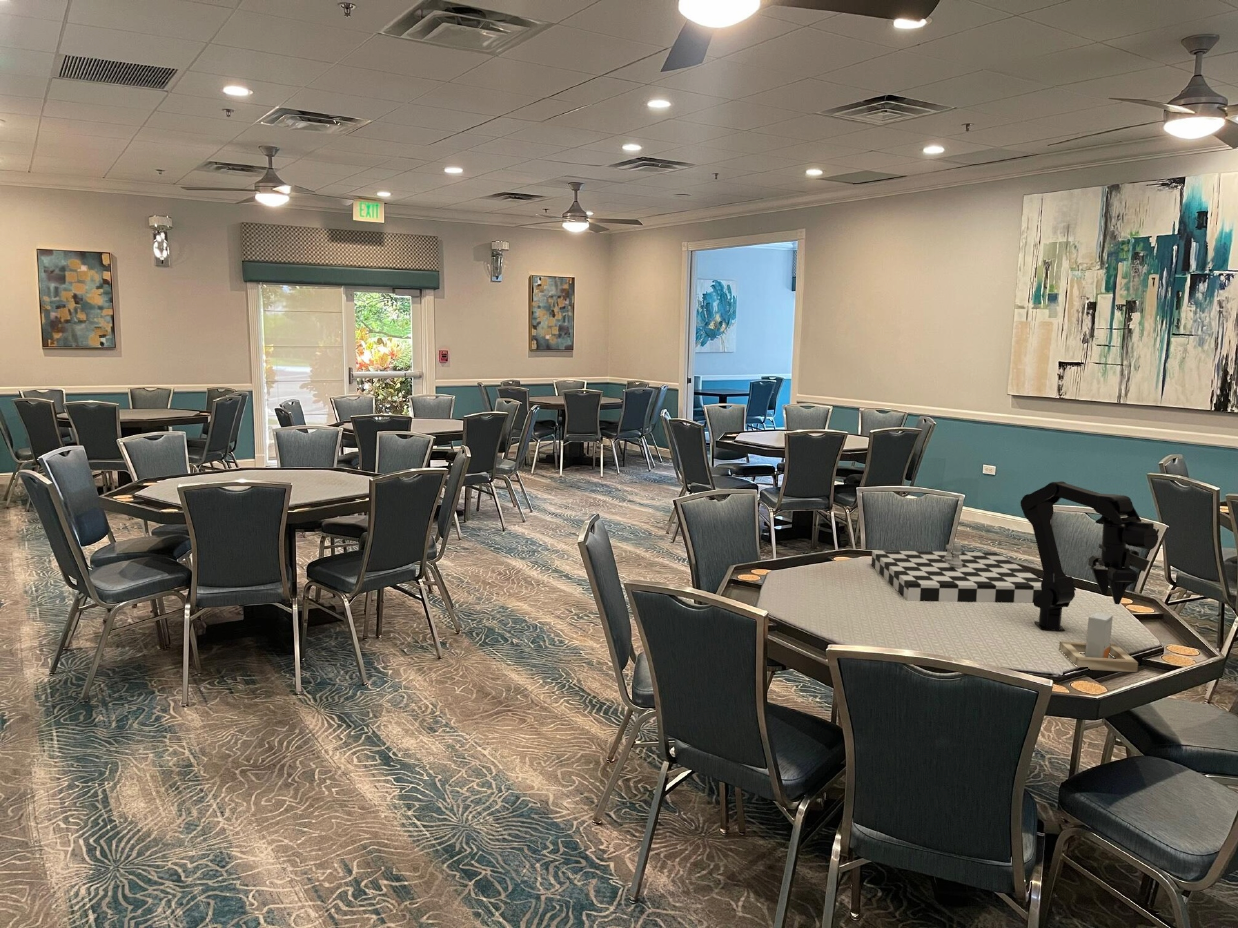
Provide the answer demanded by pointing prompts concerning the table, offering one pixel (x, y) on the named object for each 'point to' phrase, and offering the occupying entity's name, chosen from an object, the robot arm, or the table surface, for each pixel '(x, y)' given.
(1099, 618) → the skincare box
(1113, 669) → the wooden picture frame
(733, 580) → the table surface
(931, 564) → the checkerboard
